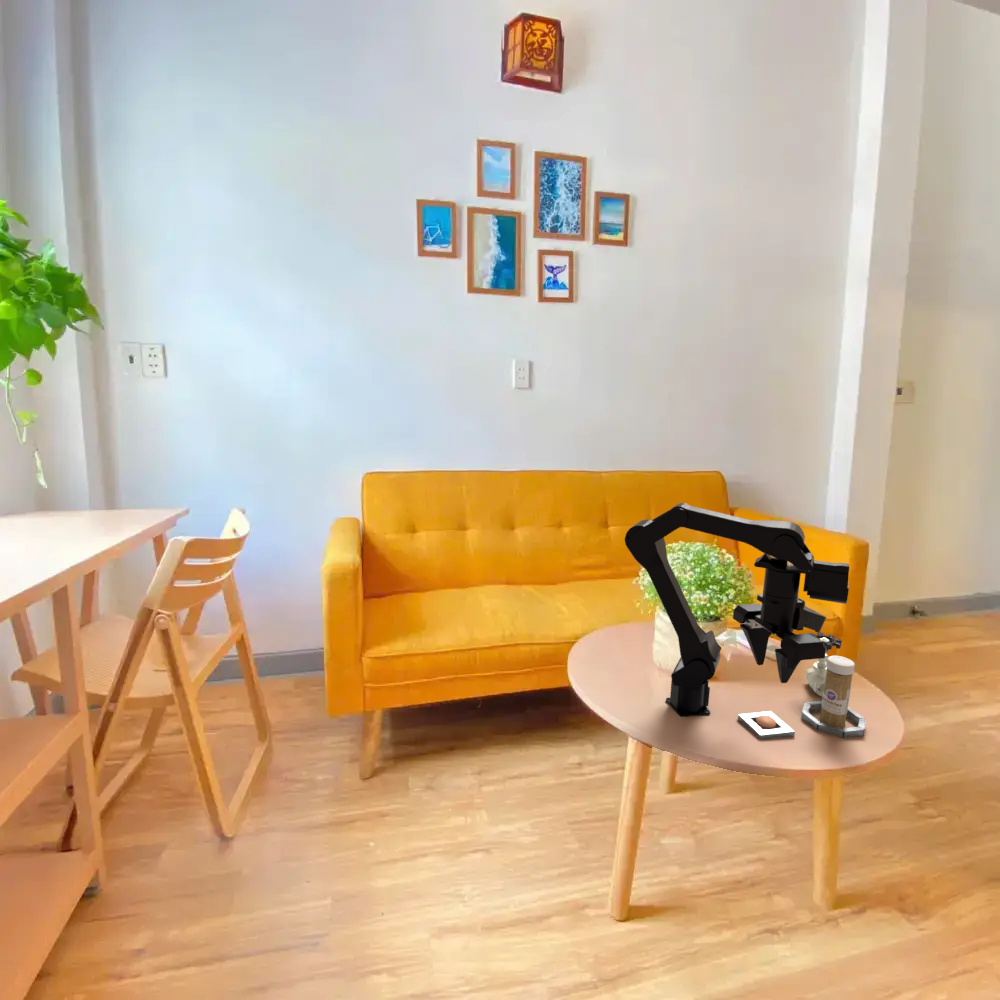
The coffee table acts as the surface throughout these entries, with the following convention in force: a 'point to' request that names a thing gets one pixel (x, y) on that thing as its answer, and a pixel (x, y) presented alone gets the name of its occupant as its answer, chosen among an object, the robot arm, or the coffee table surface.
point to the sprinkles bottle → (836, 691)
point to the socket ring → (833, 730)
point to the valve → (821, 664)
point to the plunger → (765, 722)
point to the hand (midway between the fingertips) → (771, 673)
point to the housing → (777, 732)
